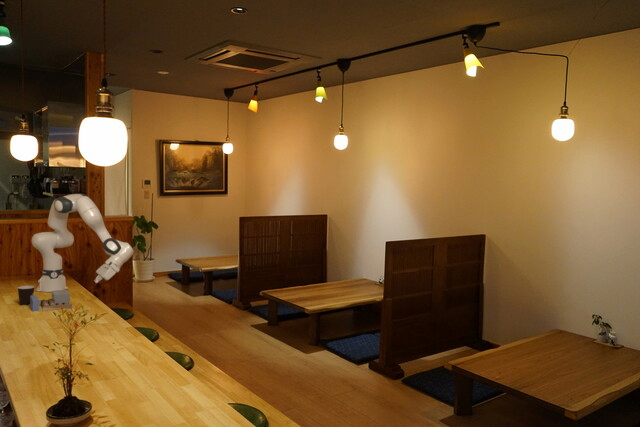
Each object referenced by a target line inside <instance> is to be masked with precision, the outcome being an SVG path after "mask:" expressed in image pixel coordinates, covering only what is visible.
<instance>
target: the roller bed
mask: <svg viewBox="0 0 640 427" xmlns="http://www.w3.org/2000/svg"><path fill="white" fill-rule="evenodd" d="M41 304H42V305H41ZM39 306H42V312H47V310H51V311H57V310H58V309H59V311H60V309H61V306H62V307H63V309H61V310H68V309H72V308H73V303H70V302H67V303H56V304H54V302H53V301H52V299H51V298H48V299H40V300H39ZM64 308H65V309H64Z"/></svg>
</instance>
